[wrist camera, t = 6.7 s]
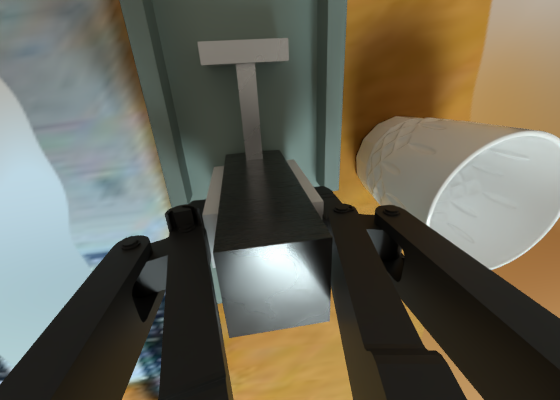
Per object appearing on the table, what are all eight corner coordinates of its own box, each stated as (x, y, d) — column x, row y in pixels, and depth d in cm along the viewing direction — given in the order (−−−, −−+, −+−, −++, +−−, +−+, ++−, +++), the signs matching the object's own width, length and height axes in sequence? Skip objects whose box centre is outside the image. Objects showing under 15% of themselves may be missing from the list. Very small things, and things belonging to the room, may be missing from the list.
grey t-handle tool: (240, 294, 23) (244, 462, 13) (203, 47, 15) (139, -13, 5) (291, 286, 23) (332, 442, 13) (280, 43, 16) (360, -18, 6)
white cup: (410, 207, 25) (511, 282, 16) (334, 190, 23) (399, 264, 14) (454, 122, 22) (608, 154, 13) (371, 94, 20) (484, 109, 11)
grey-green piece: (206, 289, 25) (198, 345, 20) (95, -209, 12) (-10, -422, 7) (319, 272, 26) (341, 321, 21) (327, -195, 13) (384, -367, 8)
